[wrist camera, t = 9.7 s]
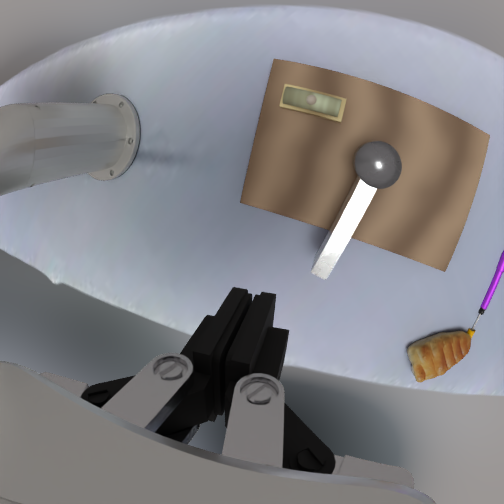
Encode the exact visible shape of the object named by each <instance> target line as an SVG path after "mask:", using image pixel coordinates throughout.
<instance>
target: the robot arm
mask: <svg viewBox="0 0 504 504" xmlns="http://www.w3.org/2000/svg"><path fill="white" fill-rule="evenodd" d="M139 139H140V126H139V119H138V116H137V113H136V110H135V108H134V106H133V105H132V104H131V102H130V101H129V100H128V99H126V98H125V97H123V96H121V95H117V94H104V95H101V96H99V97H97V98H96V99H94V100H93V101H92V102H91V103H65V102H51V103H20V104H10V105H6V106H3V107H0V196H2V195H4V194H8V193H11V192H14V191H17V190H21V189H25V188H28V187H32V186H35V185H39V184H43V183H47V182H51V181H55V180H59V179H63V178H68V177H72V176H77V175H81V174H86V173H88V174H89V175H90V176H91V177H93V178H95V179H97V180H103V181H105V180H111V179H114V178H117V177H118V176H120V175H122V174H123V173H124V172H125V171H126V170H127V169H128V168H129V166H130V165H131V163H132V161H133V159H134V158H135V155H136V152H137V149H138V145H139ZM275 301H276V294H272V293H266V292H261V294H260V295H255V297H254V299H253V301H252V294H249V293H248V290H247V289H241V288H236V287H233V288H232V290H231V291H230V293H229V294H228V296H227V297H226V299H225V300H224V302H223V304H222V305H221V307H220V308H219V310H218V311H217V313H216V315H215V316H211V315H207V316H206V317H205V318H204V319H203V321H202V322H201V324H200V325H199V327H198V328H197V330H196V331H195V332H194V334H193V335H192V337H191V338H190V340H189V341H188V343H187V344H186V346H185V347H184V349H183V350H182V352H181V353H180V354H177V353H166V354H162V355H159V356H157V357H155V358H154V359H153V360H151V361H150V362H149V363H148V364H147V365H146V366H145V367H144V368H143V369H142V370H141V371H140V372H139V373H138V374H137V375H135V376H131V377H127V378H122V379H117V380H113V381H108V382H104V383H99V384H95V385H92V386H90V387H89V386H88V384H87V383H83V382H79V381H75V380H72V379H69V378H65V377H62V376H58V375H55V374H51V373H46V372H45V373H41V374H38V373H37V372H35V371H33V370H31V369H28V368H26V367H23V366H21V365H18V364H15V363H9V362H5V361H0V504H436V503H435V501H434V500H433V499H432V498H431V497H429V496H428V495H426V494H424V493H422V492H420V491H418V490H416V489H414V479H413V477H412V474H411V473H410V472H409V471H407V470H406V469H403V468H401V467H396V466H391V465H386V464H381V463H376V462H372V461H367V460H363V459H358V458H354V457H351V456H347V455H346V456H345V457H340V456H336V455H334V454H333V453H332V451H331V450H330V449H329V448H328V447H327V446H326V445H325V444H324V443H323V442H322V441H321V440H320V439H319V438H318V437H317V436H316V435H315V434H314V433H313V432H312V431H311V430H310V429H309V428H308V427H307V426H306V425H305V424H304V423H303V422H302V421H301V420H300V418H299V417H298V416H297V415H296V414H295V413H294V412H293V411H292V410H291V409H290V408H289V407H288V406H287V405H286V404H285V403H284V388H283V386H282V384H281V383H280V381H279V379H280V375H281V371H282V367H283V363H284V358H285V353H286V347H287V341H288V335H289V330H286V329H280V328H274V327H273V320H274V311H275ZM224 411H225V426H226V428H227V431H226V436H225V441H224V446H223V452H222V455H220V454H216V453H213V452H209V451H206V450H203V449H199V448H196V447H193V446H190V445H188V444H189V442H190V441H191V440H192V438H193V437H194V435H195V434H196V433H197V431H198V429H199V427H200V424H201V423H204V422H207V421H208V420H209V421H213V422H214V421H215V419H216V417H217V415H223V413H224Z"/></svg>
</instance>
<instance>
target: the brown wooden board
mask: <svg viewBox="0 0 504 504" xmlns="http://www.w3.org/2000/svg"><path fill="white" fill-rule="evenodd" d="M489 138H490V135H488V134H487V133H485V132H483V131H482V130H480V129H478V128H476V127H474V126H473V125H471V124H469V123H467V122H465V121H463V120H461V119H459V118H458V117H456V116H454V115H452V114H450V113H448V112H445V111H443V110H441V109H439V108H437V107H435V106H433V105H430V104H428V103H426V102H423V101H421V100H419V99H416V98H414V97H411V96H409V95H406V94H404V93H401V92H399V91H396V90H393V89H391V88H388V87H385V86H382V85H379V84H376V83H373V82H370V81H367V80H364V79H360V78H357V77H354V76H350V75H347V74H343V73H339V72H336V71H332V70H328V69H324V68H319V67H315V66H310V65H306V64H301V63H296V62H290V61H285V60H279V59H274V60H273V64H272V68H271V72H270V76H269V80H268V84H267V88H266V92H265V96H264V101H263V105H262V109H261V113H260V117H259V121H258V126H257V130H256V134H255V138H254V143H253V147H252V151H251V156H250V160H249V165H248V169H247V173H246V178H245V182H244V187H243V191H242V196H241V200H240V203H243V204H247V205H250V206H253V207H257V208H260V209H263V210H267V211H270V212H273V213H276V214H280V215H283V216H286V217H289V218H293V219H296V220H299V221H302V222H305V223H308V224H311V225H315V226H318V227H321V228H324V229H327V230H330V228H331V226H332V224H333V222H334V220H335V219H336V217H337V215H338V213H339V211H340V209H341V207H342V205H343V203H344V201H345V199H346V197H347V195H348V193H349V192H350V190H351V188H352V186H353V184H354V182H355V180H356V178H357V176H358V175H357V173H356V172H355V170H354V167H353V156H354V153H355V152H356V150H357V149H358V148H359V147H360V146H361V145H363V144H365V143H368V142H373V141H382V142H385V143H388V144H390V145H391V146H392V147H394V148H395V150H396V151H397V152H398V154H399V156H400V158H401V162H402V170H401V174H400V177H399V179H398V180H397V181H396V182H395V183H394V184H393V185H392V186H390V187H388V188H384V189H376V191H375V193H374V195H373V197H372V199H371V201H370V203H369V205H368V207H367V209H366V210H365V212H364V214H363V216H362V218H361V220H360V222H359V223H358V225H357V227H356V229H355V231H354V232H353V234H352V236H351V238H354V239H357V240H359V241H362V242H365V243H368V244H371V245H374V246H377V247H379V248H382V249H385V250H388V251H391V252H393V253H396V254H399V255H402V256H404V257H407V258H410V259H413V260H415V261H418V262H421V263H423V264H426V265H428V266H431V267H434V268H436V269H439V270H441V271H444V272H445V271H446V269H447V267H448V264H449V262H450V260H451V258H452V255H453V253H454V251H455V248H456V246H457V243H458V241H459V238H460V236H461V233H462V231H463V228H464V225H465V222H466V220H467V217H468V214H469V211H470V208H471V205H472V202H473V199H474V196H475V193H476V190H477V186H478V183H479V179H480V176H481V172H482V168H483V164H484V160H485V156H486V152H487V147H488V143H489Z"/></svg>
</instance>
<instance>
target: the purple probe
mask: <svg viewBox="0 0 504 504" xmlns="http://www.w3.org/2000/svg"><path fill="white" fill-rule="evenodd" d="M503 272H504V251H503V253H502V255H501V258H500V261H499V263H498V266H497V270H496V273H495V275H494V277H493V280H492V282H491V285H490V287H489V289H488V292H487V294H486V296H485V298H484V300H483V302H482V305H481V308H480V310H479V316H478V318H477V320H476V322H475V324H474V326H473V327H472V329H471V330H470V328H469V329H468V331H467V334H469V335H470V336H471V338H472V336H473V335H474V333H475V330H474V331H472V330H473V328H474V327H475V325H476V323H477V321H478V319H479V317H480V315H483V313H484V311H485V310H486V309H487V307H488V305H489V303H490V300H491V298H492V296H493V294H494V292H495V289H496V287H497V285H498V283H499V280H500V278H501V275H502V273H503Z"/></svg>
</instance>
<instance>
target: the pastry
mask: <svg viewBox="0 0 504 504" xmlns="http://www.w3.org/2000/svg"><path fill="white" fill-rule="evenodd" d="M470 345H471V336H470V335H469V334H467V333H465V332H463V331H455V332H446V333H445V332H440V333H438V334H435V335H432V336H429V337H426V338H424V339H421V340H418V341H416V342H414V343H413V344H411V345H410V346H409V348H408V349H407V353H408V357H409V360H410V361H411V364H412V366H411V370H412V373H413V375H414V376H415V378H416V381H417V382H423V381H424V380H427V379H432V378H435V377H437V376H440V375H443V374H445V373H446V371H447V370H449V369H450V368H451V367H452V366H453V365H455V364H457V363H458V362H459V361H460V360H461V359H463V358H464V356H465V355H466V354H468V352H469V349H470Z"/></svg>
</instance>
